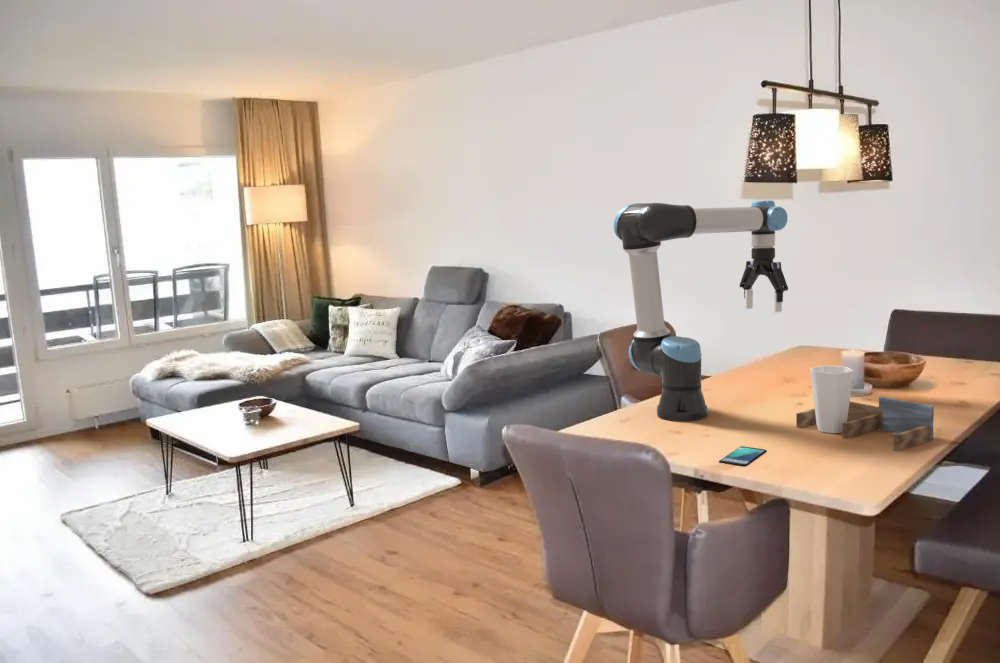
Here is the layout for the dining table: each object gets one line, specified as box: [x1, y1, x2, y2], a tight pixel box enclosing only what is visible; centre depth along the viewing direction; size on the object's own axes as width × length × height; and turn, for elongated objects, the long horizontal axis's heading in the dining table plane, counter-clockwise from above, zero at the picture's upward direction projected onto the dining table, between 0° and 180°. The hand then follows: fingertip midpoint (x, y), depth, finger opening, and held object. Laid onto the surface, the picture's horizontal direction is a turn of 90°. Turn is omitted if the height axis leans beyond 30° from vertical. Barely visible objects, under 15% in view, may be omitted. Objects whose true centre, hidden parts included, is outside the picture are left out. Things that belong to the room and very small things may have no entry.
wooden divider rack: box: [795, 396, 935, 452], centre depth 222 cm, size 15×31×9 cm, turn 32°
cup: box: [809, 365, 855, 434], centre depth 226 cm, size 11×10×17 cm
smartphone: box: [718, 445, 767, 468], centre depth 208 cm, size 7×1×15 cm
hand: (763, 310), depth 278 cm, fingers open, 13 cm apart
